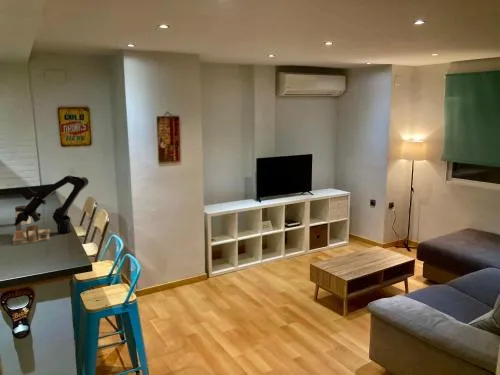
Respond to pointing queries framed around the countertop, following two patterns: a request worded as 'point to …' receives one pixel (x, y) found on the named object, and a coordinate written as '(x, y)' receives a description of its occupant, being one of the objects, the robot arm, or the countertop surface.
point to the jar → (18, 210)
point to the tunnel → (31, 228)
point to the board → (42, 236)
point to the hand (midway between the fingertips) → (15, 224)
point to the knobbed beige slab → (19, 232)
